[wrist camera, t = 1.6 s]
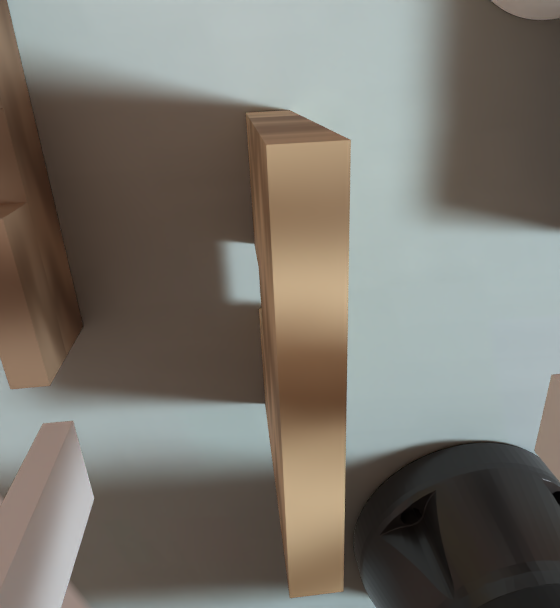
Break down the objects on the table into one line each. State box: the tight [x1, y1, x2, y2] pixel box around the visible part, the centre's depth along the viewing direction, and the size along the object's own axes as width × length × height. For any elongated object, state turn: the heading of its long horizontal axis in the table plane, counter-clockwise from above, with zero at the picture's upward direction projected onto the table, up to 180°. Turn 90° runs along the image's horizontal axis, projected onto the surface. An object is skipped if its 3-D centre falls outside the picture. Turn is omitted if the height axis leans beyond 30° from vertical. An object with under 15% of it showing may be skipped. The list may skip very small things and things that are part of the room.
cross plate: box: [246, 110, 351, 598], centre depth 20 cm, size 16×2×12 cm, turn 2°
